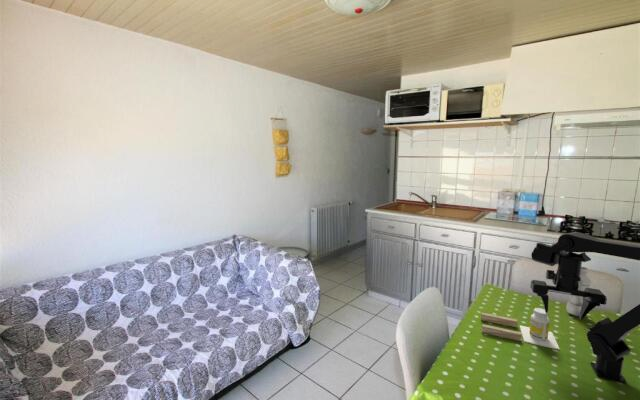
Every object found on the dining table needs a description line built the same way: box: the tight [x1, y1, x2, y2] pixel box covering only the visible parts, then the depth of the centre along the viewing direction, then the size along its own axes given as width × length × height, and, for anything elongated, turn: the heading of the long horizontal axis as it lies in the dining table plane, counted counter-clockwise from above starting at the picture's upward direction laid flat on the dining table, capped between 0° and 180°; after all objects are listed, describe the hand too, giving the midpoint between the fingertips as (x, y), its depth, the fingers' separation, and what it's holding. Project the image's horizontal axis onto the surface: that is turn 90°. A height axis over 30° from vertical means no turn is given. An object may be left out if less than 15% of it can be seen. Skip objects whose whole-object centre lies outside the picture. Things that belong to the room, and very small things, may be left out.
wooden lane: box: [480, 312, 522, 342], centre depth 114 cm, size 11×12×2 cm
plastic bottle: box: [565, 266, 592, 318], centre depth 123 cm, size 6×7×20 cm
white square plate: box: [519, 324, 561, 351], centre depth 109 cm, size 11×10×1 cm
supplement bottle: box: [529, 307, 550, 340], centre depth 108 cm, size 5×5×10 cm
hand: (563, 315), depth 101 cm, fingers open, 9 cm apart
